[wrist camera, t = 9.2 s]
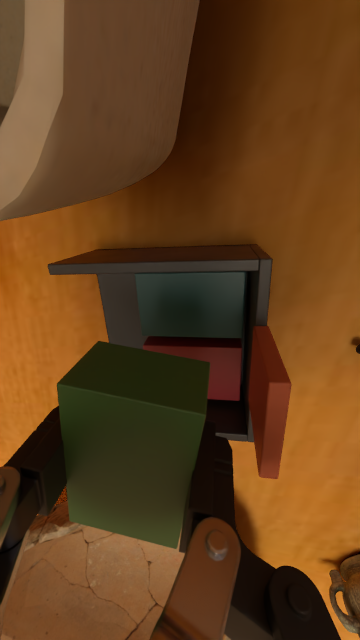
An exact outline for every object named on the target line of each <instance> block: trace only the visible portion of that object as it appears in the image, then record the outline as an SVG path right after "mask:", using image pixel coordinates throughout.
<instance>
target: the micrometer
mask: <svg viewBox="0 0 360 640" xmlns="http://www.w3.org/2000/svg"><path fill="white" fill-rule="evenodd" d="M356 352H357V353H359V354H360V344H359V345H358V346H357V347H356Z"/></svg>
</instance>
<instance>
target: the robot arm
mask: <svg viewBox="0 0 360 640" xmlns="http://www.w3.org/2000/svg"><path fill="white" fill-rule="evenodd" d="M215 435H216V422H214V421H210V420H205V423H204V427H203V432H202V437H201V441H200V446H199V451H198V455H197V460H196V464H195V469H194V471H193V472H192V477H191V481H190V486H189V491H188V495H187V500H186V505H185V509H184V515H183V523H182V531H181V538H180V546H179V552H181V553H185V555H184V558H183V560H182V563H181V565H180V568H179V571H178V573H177V576H176V578H175V581H174V583H173V586H172V588H171V591H170V594H169V596H168V599H167V601H166V604H165V606H164V609H163V611H162V613H161V615H160V617H159V619H158V621H157V623H156V625H155V627H154V629H153V632H152V634H151V636H150V639H149V640H223V635H224V634H225V635H226V636H227V637H228V638H230V639H231V640H341V638H340V636H339V634H338V632H337V629H336V627H335V625H334V623H333V621H332V618H331V616H330V614H329V612H328V609H327V607H326V605H325V603H324V600H323V598H322V596H321V594H320V592H319V591H318V589H317V587H316V586H315V585H314V583H313V582H312V581H311V580H310V579H309V578H308V576H307V575H305V574H304V573H303V572H302V571H300V570H298V569H297V568H294V567H291V566H281V567H279V568H277V569H275V568H274V567H272V566H271V565H269V564H268V563H266V562H265V561H263V560H262V559H260V558H259V557H257V556H256V555H255V554H253V553H252V552H251V551H250V550H249V549H248V548H247V547H246V545H245V544H244V543H243V541H242V540H241V538H240V536H239V534H238V531H237V529H236V524H235V510H234V484H233V465H232V464H233V458H232V449H231V446H230V444H229V442H228V440H227V438H225V437H220V436H215ZM66 484H67V479H66V468H65V457H64V446H63V440H62V435H61V424H60V413H59V406H58V407H56V408H55V409H53V410H52V411H51V412H50V413H49V414H48V416H47V417H46V418H45V419H44V421H43V422H42V423H41V424H40V425H39V426H38V427H37V429H36V430H35V431H34V432H33V433H32V434H31V435H30V436H29V438H28V439H27V440H26V441H25V442H24V443H23V445H22V446H21V447H20V448H19V449H18V450H17V451H16V453H15V454H14V455H13V456H12V457H11V458H10V460H9V461H8V462H7V463H6V464H5V465H4V466H3V467H0V640H1V635H2V629H3V619H4V613H5V609H6V605H7V602H8V599H9V596H10V593H11V590H12V587H13V584H14V581H15V577H16V574H17V571H18V568H19V565H20V562H21V559H22V556H23V553H24V550H25V547H26V544H27V540H28V537H29V534H30V526H31V524H32V522H33V521H34V519H35V517H36V516H37V514H40V515H44V516H47V517H48V515H49V513H50V512H51V510H52V508H53V507H54V505H55V503H56V501H57V500H58V498H59V496H60V494H61V493H62V491H63V489H64V487H65V486H66Z"/></svg>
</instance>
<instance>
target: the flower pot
mask: <svg viewBox="0 0 360 640" xmlns="http://www.w3.org/2000/svg"><path fill="white" fill-rule="evenodd" d="M199 2H200V0H0V221H1V220H7V219H12V218H18V217H23V216H29V215H33V214H37V213H41V212H46V211H50V210H54V209H58V208H62V207H66V206H70V205H74V204H78V203H81V202H85V201H89V200H92V199H96V198H99V197H102V196H105V195H108V194H111V193H113V192H116V191H118V190H120V189H123V188H125V187H127V186H130V185H132V184H134V183H136V182H138V181H140V180H142V179H143V178H145V177H146V176H148V175H150V174H151V173H153V172H154V171H155V170H157V169H158V168H159V167H160V166H161V165H162V164H163V163H164V161H165V160H166V159H167V157H168V156H169V154H170V153H171V151H172V149H173V146H174V143H175V140H176V134H177V129H178V123H179V117H180V111H181V106H182V99H183V93H184V87H185V80H186V74H187V68H188V62H189V56H190V51H191V45H192V40H193V34H194V29H195V23H196V18H197V13H198V7H199Z"/></svg>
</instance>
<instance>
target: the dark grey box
mask: <svg viewBox="0 0 360 640" xmlns="http://www.w3.org/2000/svg"><path fill="white" fill-rule="evenodd" d="M48 269H49V273H50V275H67V274H97V277H98V283H99V288H100V294H101V299H102V305H103V310H104V316H105V322H106V327H107V333H108V338H109V343H112V344H117V345H122V346H128V347H133V348H138V349H143V344H144V343H145V341H146V339H147V338H148V336H142V333H141V325H140V317H139V308H138V300H137V292H136V284H135V276H134V274H135V273H180V272H237V271H246V284H245V305H244V325H243V338H241V343H242V364H241V384H240V400H239V401H233V400H217V399H207V411H206V418H205V420H210V421H214V422H216V435H215V436H220V437H225V438H227V440H234V441H245V442H246V441H248V442H254V443H255V450H256V458H257V465H258V472H259V476H260V477H262V478H271V479H278V475H279V468H280V461H281V454H282V447H283V440H284V433H285V426H286V419H287V412H288V405H289V398H290V391H291V382H290V379H289V377H288V374H287V372H286V369H285V367H284V364H283V362H282V359H281V356H280V354H279V351H278V349H277V346H276V344H275V341H274V339H273V336H272V334H271V331H270V329H269V327H268V326H267V317H268V306H269V294H270V283H271V272H272V258H271V257H270V256H269V255H268V254H267V253H266V252H264V251H263V250H262V249H261V248H260V247H259V246H258V245H257V244H250V245H221V246H192V247H162V248H133V249H104V250H94V251H91V252H87V253H84V254H81V255H77V256H74V257H71V258H67V259H64V260H61V261H57V262H54V263H51V264H48Z"/></svg>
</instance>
